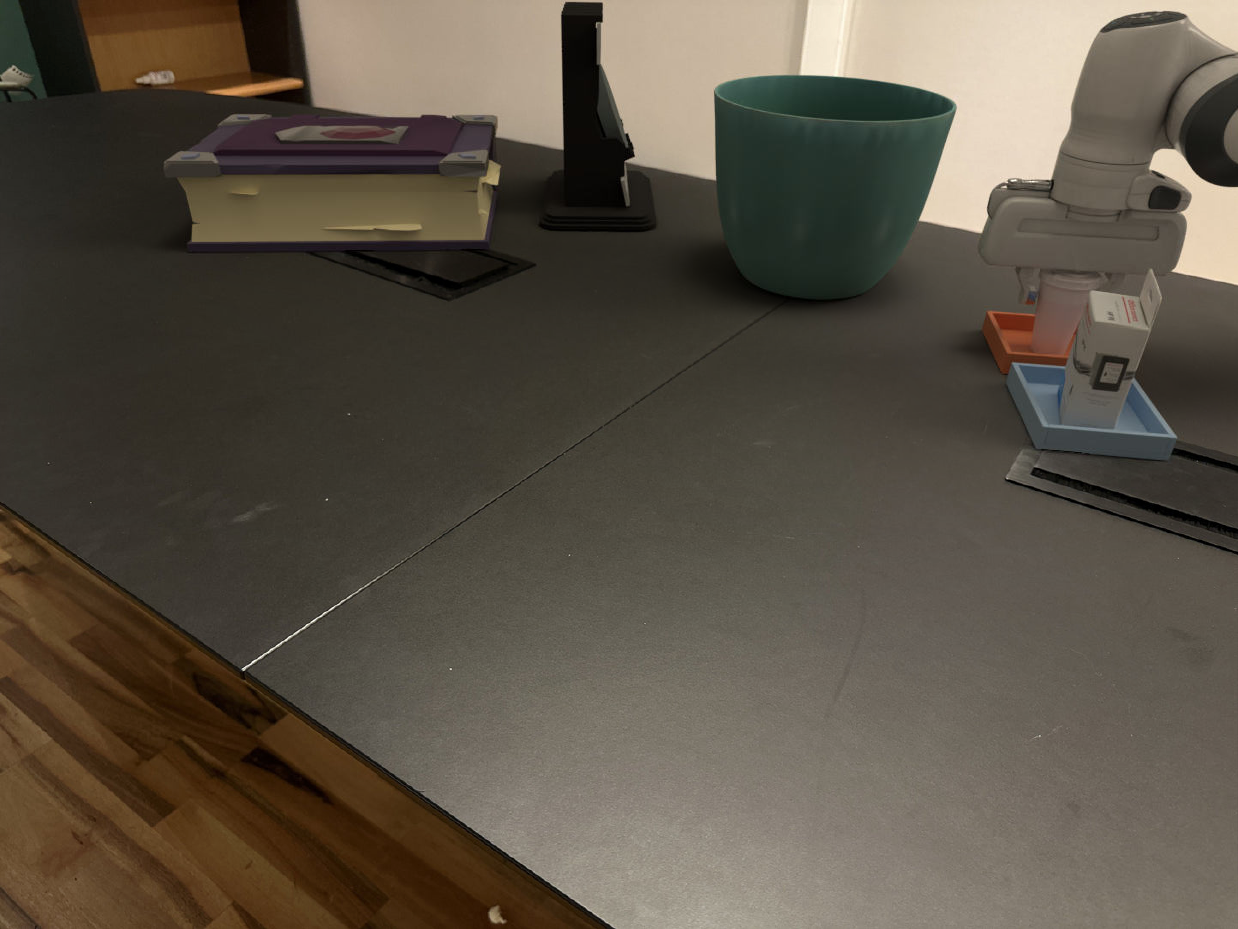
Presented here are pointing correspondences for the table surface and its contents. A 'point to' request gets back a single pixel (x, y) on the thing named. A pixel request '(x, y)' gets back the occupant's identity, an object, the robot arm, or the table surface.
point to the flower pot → (823, 177)
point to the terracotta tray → (1016, 340)
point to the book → (341, 183)
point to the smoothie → (1060, 308)
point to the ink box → (1106, 356)
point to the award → (593, 141)
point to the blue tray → (1132, 437)
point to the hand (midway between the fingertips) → (1059, 305)
